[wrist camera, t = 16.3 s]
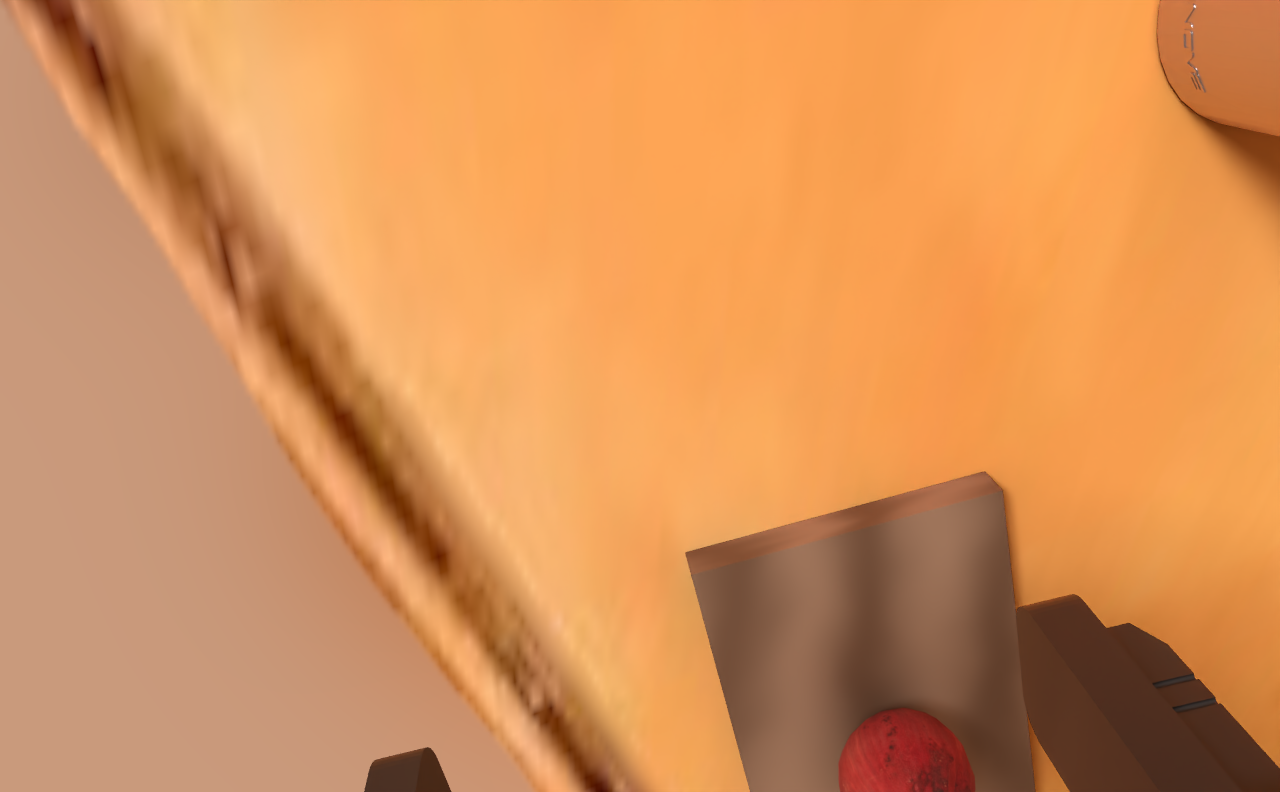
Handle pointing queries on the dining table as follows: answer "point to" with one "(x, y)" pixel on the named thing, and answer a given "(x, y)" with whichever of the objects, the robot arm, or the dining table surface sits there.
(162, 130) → the dining table surface
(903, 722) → the onion
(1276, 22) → the robot arm
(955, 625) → the cutting board
